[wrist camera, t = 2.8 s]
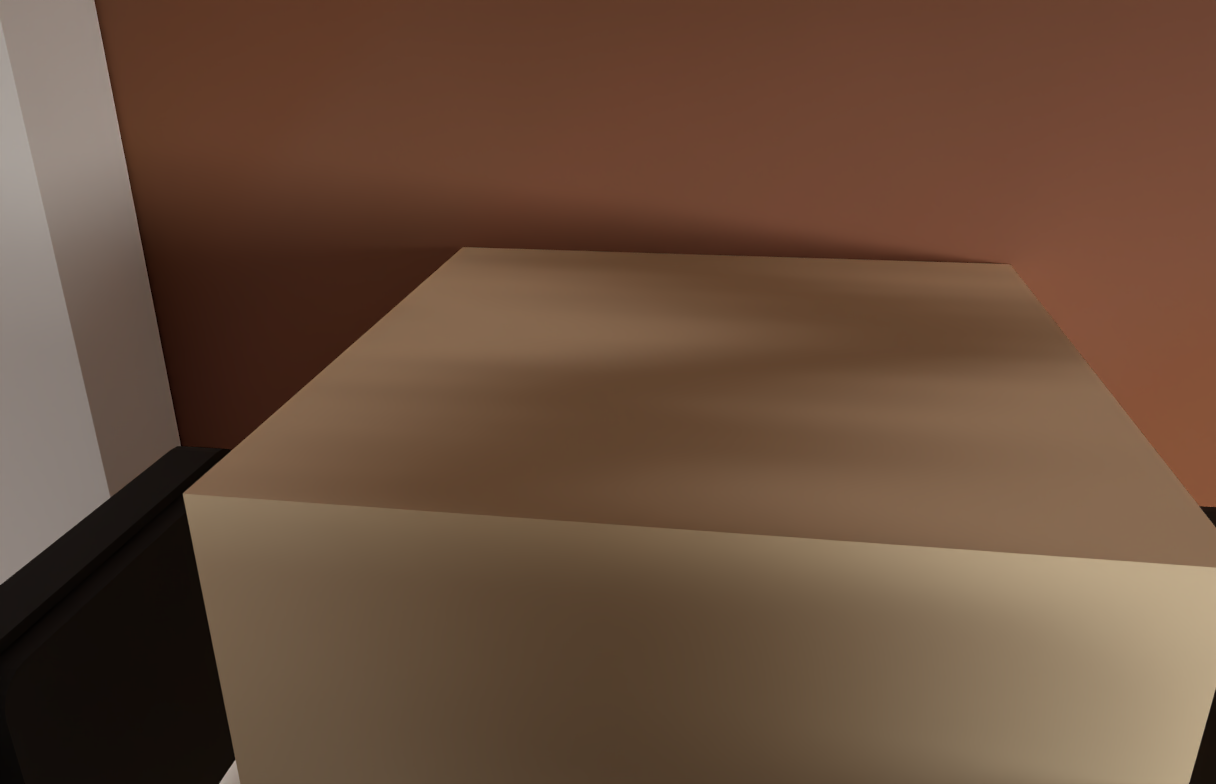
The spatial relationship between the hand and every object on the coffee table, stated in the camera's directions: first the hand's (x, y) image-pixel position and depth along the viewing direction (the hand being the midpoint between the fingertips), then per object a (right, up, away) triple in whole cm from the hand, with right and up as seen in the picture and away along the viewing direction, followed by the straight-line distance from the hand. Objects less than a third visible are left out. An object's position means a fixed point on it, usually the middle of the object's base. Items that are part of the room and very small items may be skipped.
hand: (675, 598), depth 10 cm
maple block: (+1, +1, +2) cm, 2 cm away
